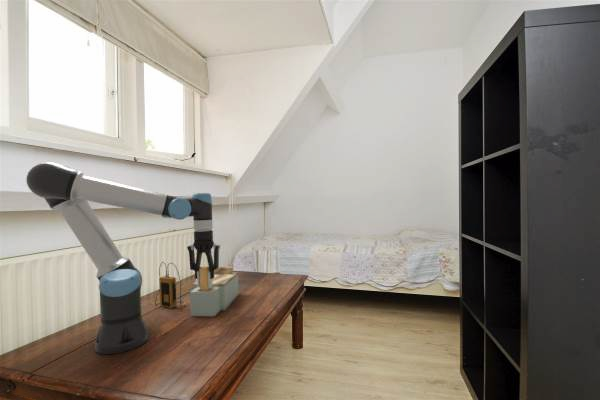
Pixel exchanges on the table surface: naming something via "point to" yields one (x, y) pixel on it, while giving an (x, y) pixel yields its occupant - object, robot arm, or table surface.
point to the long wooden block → (204, 278)
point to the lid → (222, 276)
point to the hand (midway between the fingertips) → (205, 286)
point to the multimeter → (168, 290)
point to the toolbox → (213, 298)
